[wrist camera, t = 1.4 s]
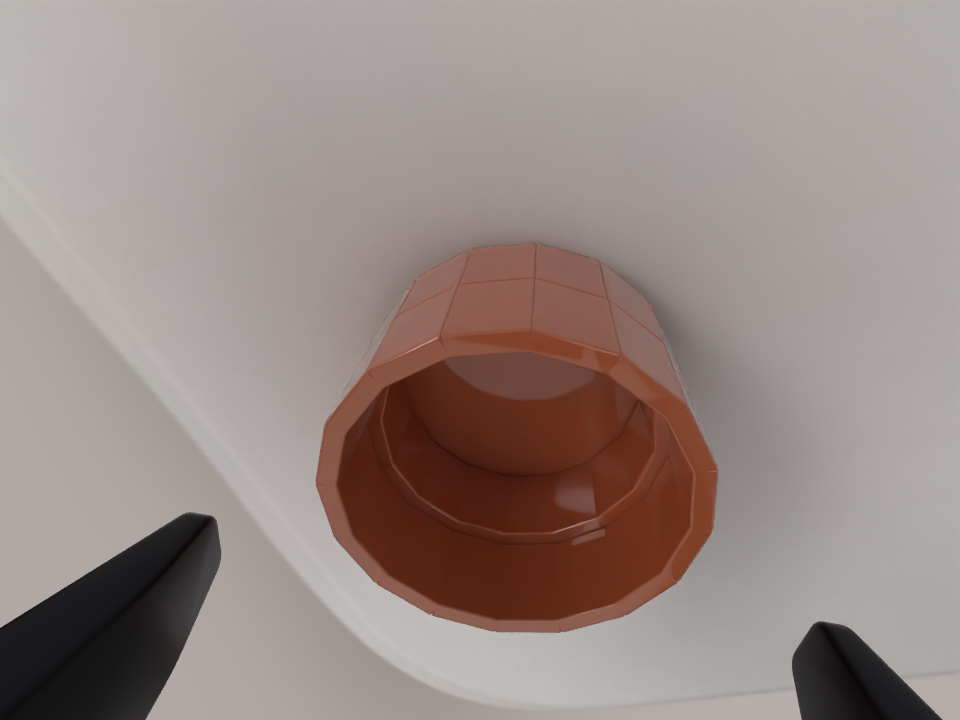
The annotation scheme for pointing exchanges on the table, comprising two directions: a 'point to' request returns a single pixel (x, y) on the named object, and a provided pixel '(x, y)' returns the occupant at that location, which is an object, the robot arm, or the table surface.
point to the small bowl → (519, 447)
